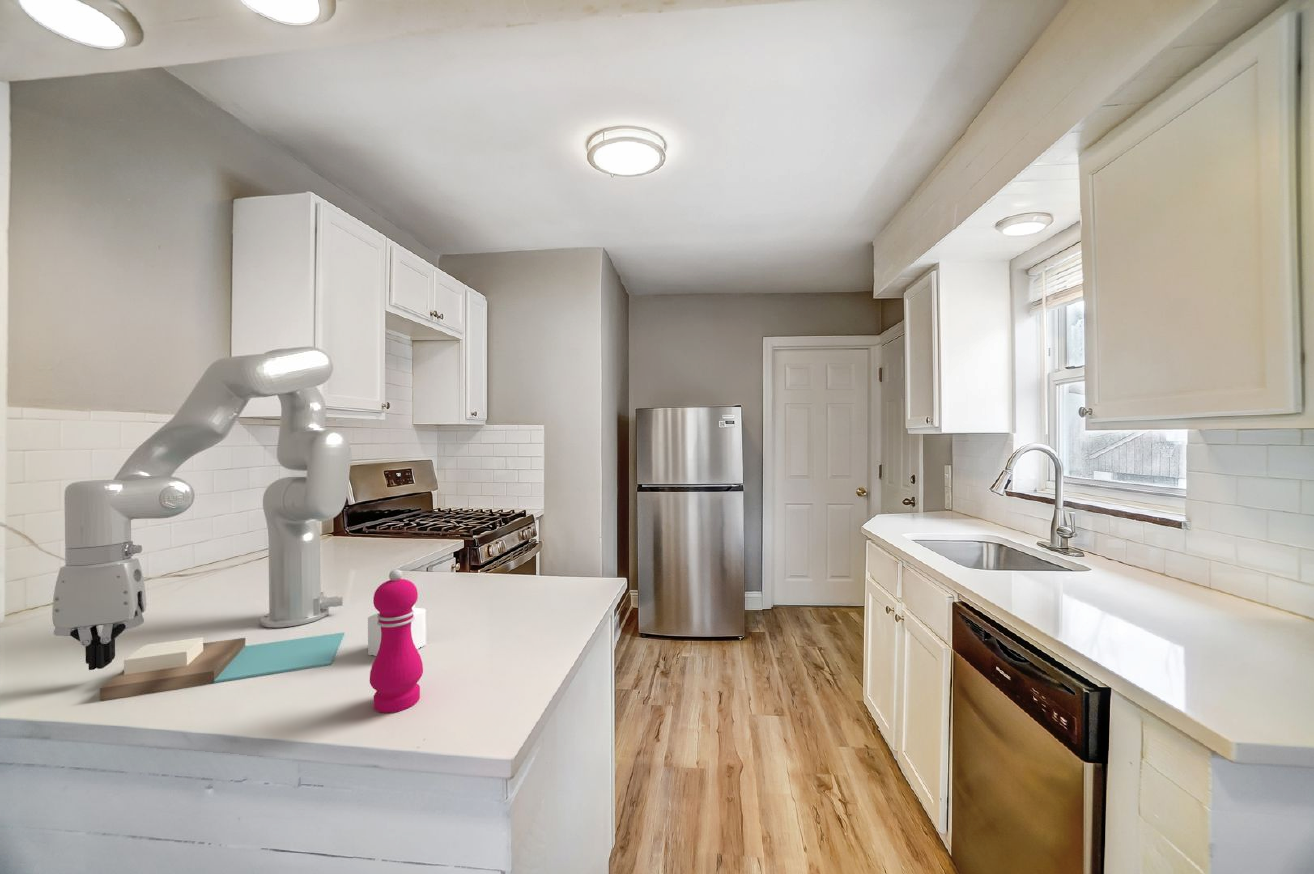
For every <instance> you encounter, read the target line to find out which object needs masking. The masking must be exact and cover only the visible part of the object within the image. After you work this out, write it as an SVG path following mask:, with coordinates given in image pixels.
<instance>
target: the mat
mask: <svg viewBox="0 0 1314 874" xmlns="http://www.w3.org/2000/svg"><path fill="white" fill-rule="evenodd" d="M344 636H345V632H344V631H343V632H338V633H337V632H336V633H330V634H323V635H322V634H321V635H316V636H314V635H313V636H308V637H302V638H301V637H300V638H294V639H287V640H279V641H273V642H263V643H256V644H250V645H245V647H244V648H243V649H242V650H241V651H240V653H239V654H238V655H237V656H236V657H235V658H234V659H233V660H232V661H231V663H230V664H229V665H228V666H227V667H226V668H225V669H224V670H223V671H222V673H221V674H220V675H219V676H218V677H217V678H216V679H215V680H214V681H213V683H212V684H217V683H224V682H231V681H236V680H242V679H243V680H244V679H249V678H256V677H262V676H266V675H267V676H268V675H274V674H281V673H288V672H294V671H299V670H305V669H312V668H319V667H325V666H331V665H332V664H333V661H334V659H335V657H336V654H337V652H338V650H339V648H340V646H341V644H342V641H343V639H342V638H344ZM341 640H342V641H341ZM339 645H340V646H339ZM338 647H339V648H338ZM210 683H211V682H210Z"/></svg>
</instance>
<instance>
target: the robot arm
mask: <svg viewBox="0 0 1314 874" xmlns="http://www.w3.org/2000/svg"><path fill="white" fill-rule="evenodd" d="M333 365H334V363H333V361H332V358H331V356H329V354H328V353H327V352H326V351H324V350H323V349H320V348H318V347H316V346H298V347H289V348H278V349H272V350H268V351H265V352H263V353H257V354H246V355H244V354H243V355H237V356H236V355H235V356H227V357H222V358H218V359H217V360H215V361H213V362H211V364H210V365H209V366H208V368H206V370H205V371H204V373H203V374H202V375H201V377H200V378H199V380H198V381H197V383H196V384H195V386H194V388H192V390H191V392H190V393H189V395H188V396H187V397H186V399H185V400H184V402H183V403H182V404H181V406H180V407H179V409H178V411H177V412H176V413H175V414H174V416H173V417H172V418H171V419H170V420H169V421H168V422H166V423H165V424H163V425H162V426H161V427H160V428H159V429H158V430H157V431H156V432H154V433H153V434H152V435H151V436H149V437H148V438H147V439H146V440H145V441H144V442H142V444H141V443H140V445H139V446H138V447H137V448H136V449H135V450H134V451H133V452H132V453H131V455H130V456H128V458H127V459H126V461H125V462H124V463H123V465H122V466H121V468H119V470H118V472H117V473H116V474H115V476H114V478H113V479H94V480H93V479H91V480H81V481H75V482H72V483H70V484H68V485H67V486H66V488H65V489H64V497H63V498H64V559H65V561H64V565H63V566H61V567H60V568H59V571H58V575H57V578H56V580H55V586H54V591H53V599H52V610H51V612H52V615H51V619H52V624H53V627H54V631H53V635H54V636H56V637H57V636H59V637H71V638H74V639H75V640H76V641H78V642H79V643H80V644H81V646H82V647H84V648H85V651H84V652H85V664H87V665H88V670H89V671H94V670H96V669H97V670H101V669H102V670H103V669H104V668H106V667H107V666H108V665H110V664H111V663H112V662H113V660H114V659H115V658H116V638H118V637H119V636H120V635H121V634H122V633H123V632H124V631H126V630H129V629H134V628H136V627H139V626H141V625H142V624H144V623H145V618H144V616H143V613H144V612H145V611H146V609H147V596H146V588H145V580H144V576H143V570H142V566H141V563H140V561H139V558H136V557H135V558H132V557H133V556H134V555H135V554H141V553H142V551H143V547H142V545H139V544H137V545H136V544H134V541H133V540H132V520H143V519H144V520H145V519H147V520H149V519H151V520H152V519H168V518H173V517H177V516H179V515H182V514H184V512H186V511H187V510H188V509H189V508H191V506H192V505H193V503H194V501H195V495H196V494H195V490H194V487H193V486H192V485H191V484H190V483H189V482H187V480H185V479H182V478H180V477H176V476H173V475H174V473H175V472H176V471H177V470H178V469H179V468H180V467H181V466H182V465H183V464H184V463H185V462H187V461H188V460H189V459H190V458H192V457H193V456H195V455H197V454H199V453H201V452H203V451H205V450H208V449H210V448H212V447H214V446H216V445H217V444H219V443H220V442H222V441H224V440H225V439H226V437H228V435H229V434H230V432H231V430H232V429H233V426H235V424H236V422H237V420H238V418H239V417H240V415H242V412H243V411H244V410H245V407H246V406H247V404H249V401H250V400H251V399H255V398H268V397H275V396H277V398H278V399H279V403H280V407H281V409H280V410H281V412H280V414H281V415H280V423H279V431H278V439H277V444H276V446H277V448H276V457H277V461H278V463H279V465H281V467H283V468H284V469H287V470H290V471H291V470H292V471H299V472H300V471H301V472H306V476H287V477H286V476H285V477H282V478H279V479H277V480H275V481H273V482H272V483H270V484H269V485H268V486H267V487H266V489H265V491H264V493H263V495H262V508H263V513H264V518H265V522H266V526H267V536H268V538H267V539H268V540H267V541H268V542H267V543H268V610H269V611H268V613H266V614H265V615H262V617H260V625H261V626H263V627H266V628H273V629H274V628H277V629H278V628H289V627H295V626H299V625H305V624H310V623H312V622H315V621H318V620H321V619H323V618H324V617H327V616H328V615H329V613H330V609H329V608H331V607H335V608H336V607H343V606H344V599H343V598H344V597H343V596H341V597H340V596H338V595H337V596H331V597H327V596H325V592H324V591H321V590H322V589H321V587H322V586H321V585H322V584H321V583H322V582H321V535H320V534H321V533H320V529H319V526H318V524H317V522H325V521H330V520H332V519H334V518H336V517H337V516H339V514H340V513H342V510H343V509H344V508H345V505H346V501H347V497H348V489H349V482H350V472H351V464H352V463H351V462H352V449H351V444H350V443H349V440H348V438H347V437H346V436H345V435H344V434H343V433H342V432H341V431H339V430H338V429H335V428H334V429H333V428H329V427H328V428H327V427H326V422H327V421H326V418H327V417H326V416H327V415H326V414H327V406H326V402H325V399H324V396H323V395H322V393H321V392H320V390H319V388H318V386H321V385H323V384H325V383H326V382H327V381H328V380H330V378H331V376H332V374H333V370H334V366H333ZM99 626H102V630H101V632H100V627H99Z"/></svg>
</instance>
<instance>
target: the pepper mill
mask: <svg viewBox="0 0 1314 874" xmlns="http://www.w3.org/2000/svg"><path fill="white" fill-rule="evenodd" d="M388 577H389V580H387V581H385V582H382V583H381V584H379V586H378V587H377V588H376V589H375V592H374V593H373V606H374V609H376V610H377V612H378V613H380V614H378V616H377V618H378V622H377V624H378V625H379V626H381V643H380V647H379V651H378V653H377V656H375V658H374V661H373V663H372V664H371V668H370V672H369V684H370V686H371V687H372V689H374V690H375V693H374V695H373V709H374V710H375V711H376V712H379V713H384V714H385V713H386V714H387V713H397V712H401V711H403V710H407V709H409V708H411V707H414V705H416V704H417V703H418V702H419V700H420V699H421V689H420V688H421V687H420V684H418V682H419V681H420V679H421V678H422V676H423V673H424V666H423V661H422V657H421V655H420V653H419V651H418V650H417V649H416V647H415V645H414V643H413V639H412V634H411V622H412V621H413V620H414V610H413V609H412V607H413V606H414V604H415V605H416V603H417V602H418V599H419V596H418V595H419V593H418V589H417V587H416V585H415V583H414V582H413V581H411V580H409V579H405V578H402V577H403V572H402V570H400V569H393V570H391V571H390V572H389V574H388Z"/></svg>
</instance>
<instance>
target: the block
mask: <svg viewBox="0 0 1314 874" xmlns="http://www.w3.org/2000/svg"><path fill="white" fill-rule="evenodd" d="M203 643H204V637H195V638H187V639H181V640H172V641H165V642H158V643H157V642H156V643H151V644H150V643H148V644H144V645H143V646H141V647H140V648H139V649H137V650H136V651H135V652H133V653H132V654H130V655H129V656H127V657H126V658H125V659H123V670H124V675H127V674H134V673H141V672H148V671H155V670H161V669H168V668H175V667H182V666H187V665H188V664H189V663H190V662H192V661H193V660H194V659H195V658H196V657H197V656H198V655H199V654H200V653H201V652H202V651H203Z"/></svg>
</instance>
